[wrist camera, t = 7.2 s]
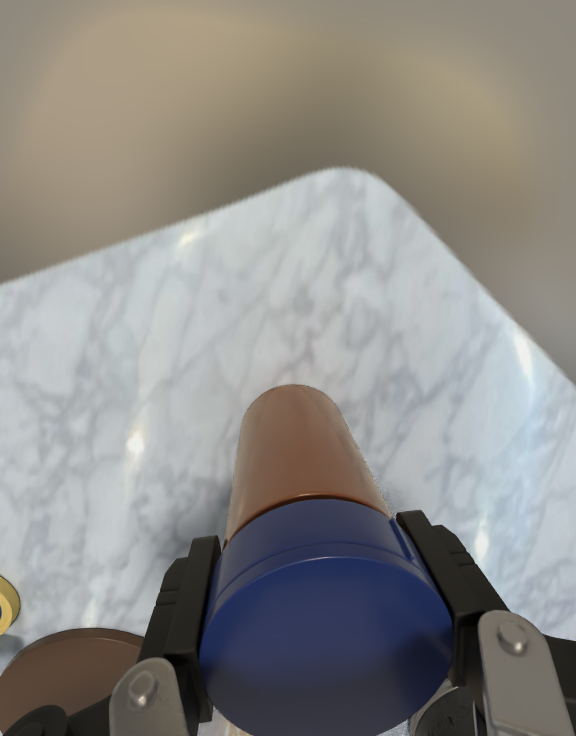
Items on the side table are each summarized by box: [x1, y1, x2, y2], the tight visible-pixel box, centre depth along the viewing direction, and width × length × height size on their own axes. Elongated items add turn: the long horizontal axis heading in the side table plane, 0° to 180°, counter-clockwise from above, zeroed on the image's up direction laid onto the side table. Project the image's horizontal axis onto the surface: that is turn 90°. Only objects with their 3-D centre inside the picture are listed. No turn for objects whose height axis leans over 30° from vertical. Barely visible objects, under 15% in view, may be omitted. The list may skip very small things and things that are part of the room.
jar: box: [222, 385, 393, 552], centre depth 14 cm, size 5×5×11 cm
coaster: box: [0, 629, 144, 734], centre depth 23 cm, size 12×12×1 cm
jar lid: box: [199, 499, 454, 736], centre depth 9 cm, size 6×6×2 cm
